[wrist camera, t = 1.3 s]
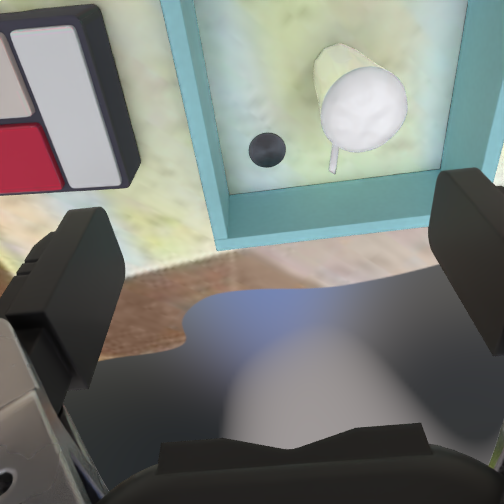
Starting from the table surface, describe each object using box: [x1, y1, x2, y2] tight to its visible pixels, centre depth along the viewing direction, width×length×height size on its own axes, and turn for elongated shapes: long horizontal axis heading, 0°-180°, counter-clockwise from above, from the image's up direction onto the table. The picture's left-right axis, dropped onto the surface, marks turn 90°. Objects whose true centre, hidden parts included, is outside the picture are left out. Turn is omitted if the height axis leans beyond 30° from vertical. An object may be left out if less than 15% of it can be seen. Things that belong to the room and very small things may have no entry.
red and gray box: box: [0, 4, 141, 196], centre depth 28 cm, size 11×4×15 cm
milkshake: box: [313, 43, 408, 174], centre depth 25 cm, size 4×5×10 cm
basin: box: [160, 0, 504, 251], centre depth 27 cm, size 19×19×6 cm
